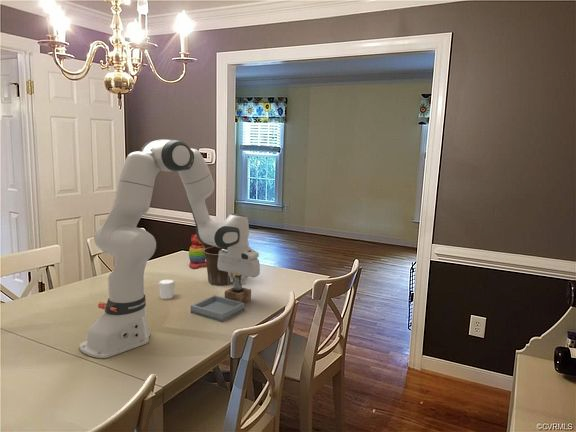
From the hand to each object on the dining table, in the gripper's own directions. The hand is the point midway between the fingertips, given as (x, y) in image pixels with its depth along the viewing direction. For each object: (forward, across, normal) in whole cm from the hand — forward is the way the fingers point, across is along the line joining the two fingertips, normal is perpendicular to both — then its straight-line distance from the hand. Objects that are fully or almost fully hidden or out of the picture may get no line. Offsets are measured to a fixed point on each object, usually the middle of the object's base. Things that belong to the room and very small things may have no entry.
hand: (237, 283), depth 174 cm
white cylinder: (+8, -29, -13) cm, 33 cm away
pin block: (+8, 0, 0) cm, 8 cm away
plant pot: (+8, -23, +16) cm, 29 cm away
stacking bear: (+8, -51, +30) cm, 60 cm away
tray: (+8, 0, -13) cm, 15 cm away
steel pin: (+8, 0, 0) cm, 8 cm away
